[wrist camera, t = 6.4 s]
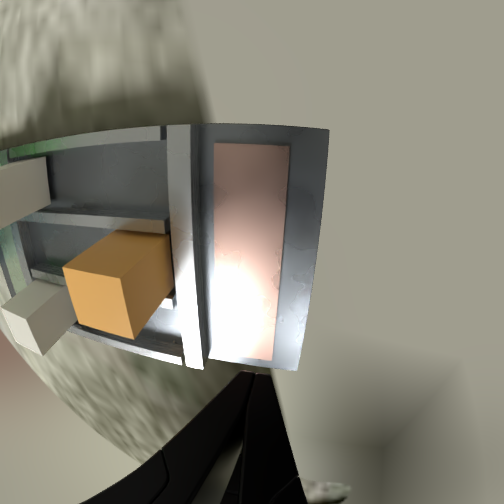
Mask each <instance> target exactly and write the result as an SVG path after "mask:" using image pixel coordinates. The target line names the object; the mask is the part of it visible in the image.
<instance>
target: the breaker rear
mask: <svg viewBox="0 0 504 504" xmlns="http://www.w3.org/2000/svg"><path fill="white" fill-rule="evenodd" d="M1 310H2V312H3V315H4V317H5V319H6V322H7V324H8V326H9V328H10V330H11V333H12V335H13V337H14V339H15V341H16V343H18V344H20V345H22V346H24V347H26V348H27V349H29V350H31V351H33V352H35V353H37V354H39V355H41V356H44V355H45V353H46V352H47V351H48V350H49V349H50V348H51V347H52V346H53V345H54V344H55V343H56V342H57V341H58V340H59V338H60V337H61V336H62V335H63V334H64V333H65V332H66V331H67V330H68V329H69V328H70V327H71V326H72V325H73V324H74V323H75V322H76V321H77V320H78V319H77V316H76V313H75V310H74V307H73V303H72V300H71V297H70V294H69V290H68V287H67V286H65V285H61V284H57V283H53V282H50V281H46V280H42V279H39V278H37V279H36V280H34V281H33V282H32V283H30V284H29V285H28V286H26V287H25V288H24V289H23V290H21V291H20V292H19V293H18V294H16V295H15V296H14V297H13V298H11V299H10V300H9V301H8V302H6V303H5V304H4V305H3V306H2V307H1Z"/></svg>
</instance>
